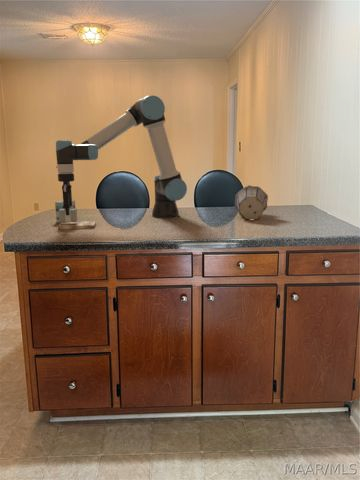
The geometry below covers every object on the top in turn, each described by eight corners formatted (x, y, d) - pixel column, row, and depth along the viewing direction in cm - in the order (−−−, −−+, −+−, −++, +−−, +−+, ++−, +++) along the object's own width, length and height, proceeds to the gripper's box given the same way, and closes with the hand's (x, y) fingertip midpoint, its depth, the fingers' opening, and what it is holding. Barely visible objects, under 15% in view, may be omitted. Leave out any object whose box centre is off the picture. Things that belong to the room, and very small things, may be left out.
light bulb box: (67, 222, 216) (66, 202, 213) (55, 222, 217) (54, 202, 214) (76, 219, 226) (75, 199, 223) (65, 219, 227) (64, 199, 225)
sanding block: (77, 220, 207) (76, 208, 205) (76, 222, 202) (75, 210, 200) (60, 220, 206) (60, 208, 204) (59, 222, 201) (58, 210, 199)
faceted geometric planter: (269, 193, 211) (265, 175, 237) (234, 195, 213) (234, 177, 240) (269, 225, 218) (265, 204, 245) (235, 226, 221) (235, 205, 248)
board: (95, 224, 211) (95, 221, 211) (94, 228, 200) (93, 225, 200) (61, 225, 209) (61, 222, 209) (58, 229, 198) (58, 226, 198)
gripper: (60, 172, 207) (64, 217, 212) (54, 174, 189) (58, 224, 194) (76, 171, 208) (79, 217, 213) (71, 174, 190) (74, 223, 195)
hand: (69, 220), depth 204 cm, fingers closed on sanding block, 5 cm apart
